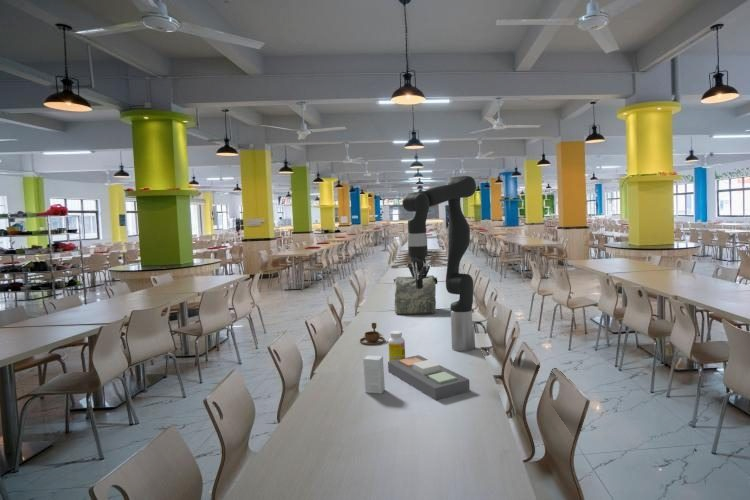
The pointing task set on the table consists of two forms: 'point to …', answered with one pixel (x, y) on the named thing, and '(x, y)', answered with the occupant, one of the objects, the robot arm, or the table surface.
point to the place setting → (372, 337)
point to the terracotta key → (409, 361)
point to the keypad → (426, 384)
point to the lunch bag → (415, 296)
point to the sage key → (441, 377)
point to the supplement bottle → (396, 346)
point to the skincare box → (374, 374)
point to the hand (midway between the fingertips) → (419, 288)
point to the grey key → (425, 367)
